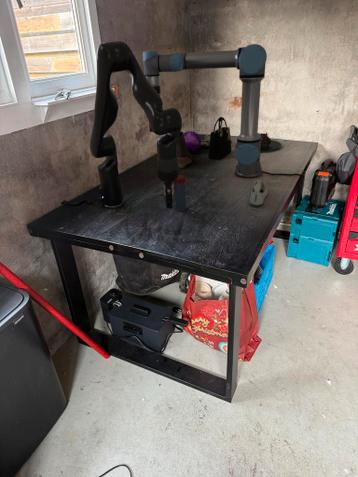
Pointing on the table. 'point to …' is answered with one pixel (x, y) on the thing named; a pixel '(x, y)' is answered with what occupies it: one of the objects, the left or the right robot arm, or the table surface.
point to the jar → (180, 197)
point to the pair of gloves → (206, 141)
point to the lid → (180, 179)
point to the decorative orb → (192, 141)
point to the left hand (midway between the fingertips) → (169, 200)
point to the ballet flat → (258, 193)
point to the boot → (183, 152)
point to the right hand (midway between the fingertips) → (156, 128)
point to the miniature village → (268, 144)
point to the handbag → (220, 141)
